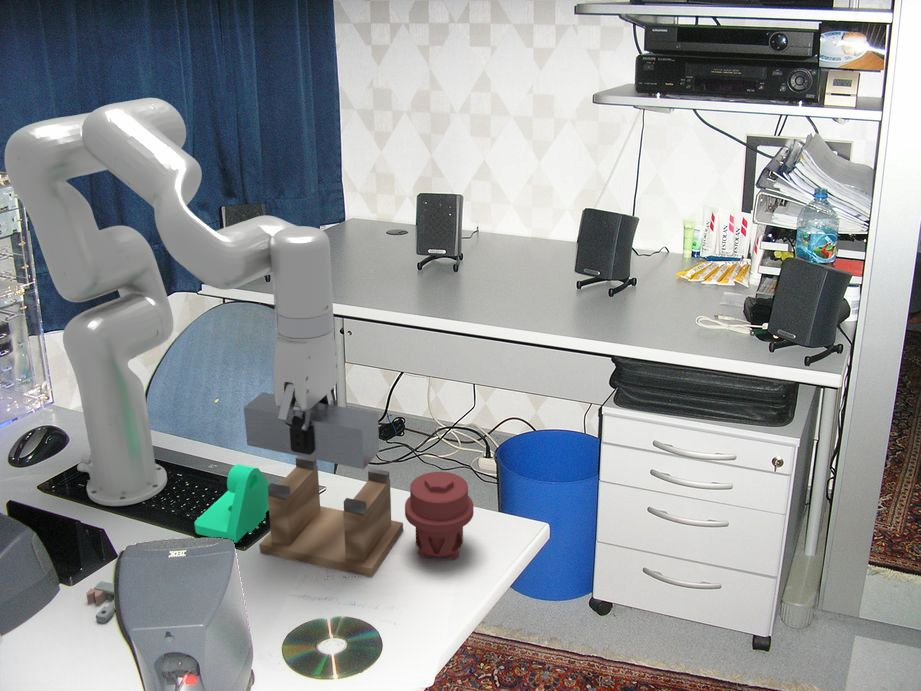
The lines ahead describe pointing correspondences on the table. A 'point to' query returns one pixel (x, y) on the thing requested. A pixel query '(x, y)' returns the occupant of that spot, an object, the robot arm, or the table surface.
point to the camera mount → (237, 505)
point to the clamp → (102, 600)
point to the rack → (331, 522)
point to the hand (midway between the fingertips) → (312, 441)
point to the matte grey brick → (316, 431)
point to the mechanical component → (439, 513)
